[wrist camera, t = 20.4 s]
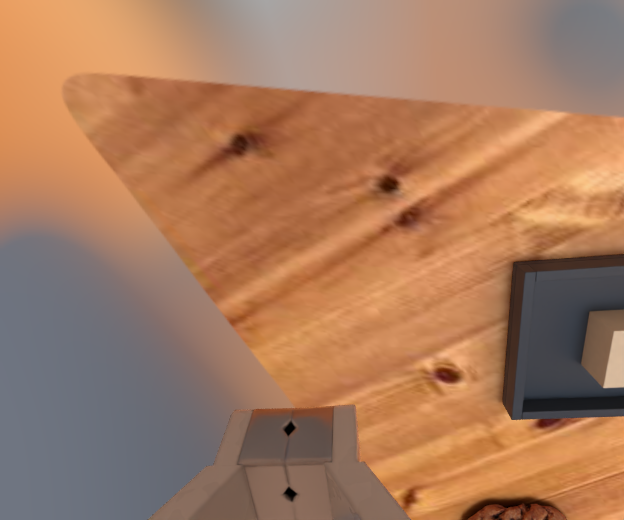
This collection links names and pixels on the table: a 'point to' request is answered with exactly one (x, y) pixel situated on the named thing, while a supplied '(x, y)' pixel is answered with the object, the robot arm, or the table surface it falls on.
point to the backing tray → (559, 337)
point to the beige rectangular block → (605, 348)
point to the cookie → (518, 513)
